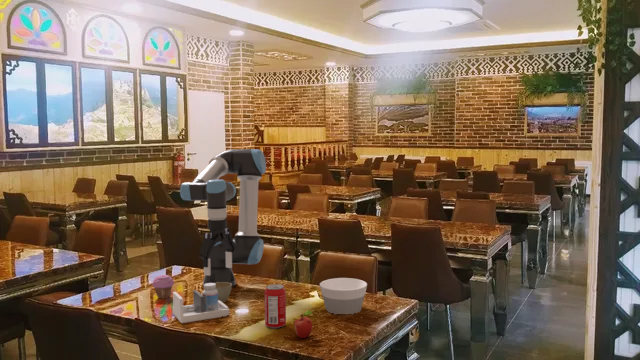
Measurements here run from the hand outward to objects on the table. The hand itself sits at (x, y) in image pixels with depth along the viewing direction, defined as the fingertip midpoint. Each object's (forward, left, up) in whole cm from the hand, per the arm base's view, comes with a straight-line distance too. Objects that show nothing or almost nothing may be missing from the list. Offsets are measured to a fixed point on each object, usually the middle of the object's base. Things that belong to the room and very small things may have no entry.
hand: (218, 271), depth 231 cm
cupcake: (+15, -32, -17) cm, 39 cm away
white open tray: (+8, 0, -17) cm, 18 cm away
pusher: (+10, 0, -16) cm, 19 cm away
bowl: (-45, +22, -17) cm, 53 cm away
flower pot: (-5, -14, -17) cm, 22 cm away
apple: (-17, +43, -17) cm, 49 cm away
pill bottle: (+4, 0, -16) cm, 17 cm away
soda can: (-13, +27, -17) cm, 34 cm away
